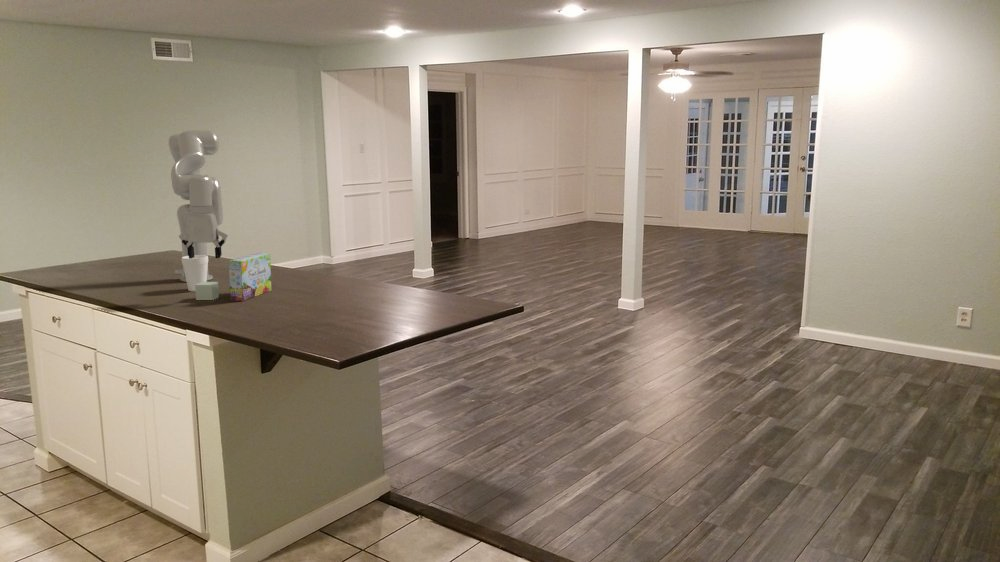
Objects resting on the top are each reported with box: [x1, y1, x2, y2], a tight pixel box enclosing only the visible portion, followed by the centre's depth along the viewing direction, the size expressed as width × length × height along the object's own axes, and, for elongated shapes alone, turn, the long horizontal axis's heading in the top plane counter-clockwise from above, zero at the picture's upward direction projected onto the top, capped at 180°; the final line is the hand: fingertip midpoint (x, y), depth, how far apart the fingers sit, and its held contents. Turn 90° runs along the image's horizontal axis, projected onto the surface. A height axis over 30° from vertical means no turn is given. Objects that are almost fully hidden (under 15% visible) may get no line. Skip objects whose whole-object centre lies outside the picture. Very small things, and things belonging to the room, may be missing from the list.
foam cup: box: [181, 255, 209, 292], centre depth 290 cm, size 10×9×13 cm
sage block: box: [194, 281, 220, 301], centre depth 273 cm, size 6×6×6 cm
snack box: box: [228, 252, 272, 302], centre depth 279 cm, size 21×6×15 cm, turn 168°
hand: (204, 257), depth 271 cm, fingers open, 9 cm apart
